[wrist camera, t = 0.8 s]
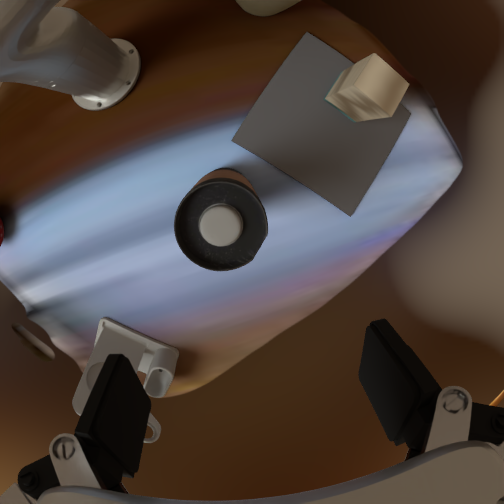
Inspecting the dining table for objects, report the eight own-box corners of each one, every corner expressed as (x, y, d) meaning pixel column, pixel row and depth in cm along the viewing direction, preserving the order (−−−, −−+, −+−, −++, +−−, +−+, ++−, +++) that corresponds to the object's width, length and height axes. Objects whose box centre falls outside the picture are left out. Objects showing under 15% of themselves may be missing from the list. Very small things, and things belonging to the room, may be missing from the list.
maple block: (323, 99, 35) (353, 84, 25) (341, 72, 34) (374, 52, 23) (354, 122, 37) (391, 116, 26) (370, 95, 35) (409, 84, 25)
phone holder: (182, 351, 50) (170, 425, 33) (167, 380, 53) (155, 448, 36) (101, 314, 46) (63, 379, 29) (94, 348, 49) (63, 409, 32)
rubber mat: (231, 140, 37) (231, 140, 37) (305, 33, 31) (306, 31, 31) (348, 215, 43) (350, 216, 42) (409, 113, 37) (411, 113, 36)
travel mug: (192, 175, 39) (158, 197, 20) (242, 159, 38) (254, 166, 20) (208, 222, 41) (191, 283, 23) (256, 208, 41) (279, 258, 23)
